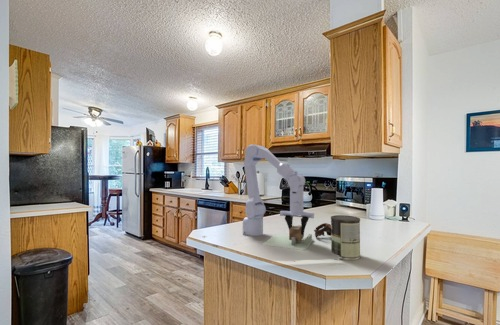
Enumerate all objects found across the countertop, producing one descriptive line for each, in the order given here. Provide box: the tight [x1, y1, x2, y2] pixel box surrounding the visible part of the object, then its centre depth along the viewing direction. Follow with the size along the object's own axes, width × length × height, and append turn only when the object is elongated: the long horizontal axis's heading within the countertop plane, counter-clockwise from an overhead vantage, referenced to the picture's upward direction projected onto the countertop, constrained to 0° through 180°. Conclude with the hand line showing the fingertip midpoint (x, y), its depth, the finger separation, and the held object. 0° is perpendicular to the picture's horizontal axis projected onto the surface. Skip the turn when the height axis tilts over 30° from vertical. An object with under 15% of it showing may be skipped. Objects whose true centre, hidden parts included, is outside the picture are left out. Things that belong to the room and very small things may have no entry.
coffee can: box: [330, 214, 361, 261], centre depth 92 cm, size 10×10×14 cm
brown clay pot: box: [313, 222, 331, 239], centre depth 116 cm, size 12×10×8 cm
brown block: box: [288, 224, 305, 241], centre depth 107 cm, size 4×8×5 cm, turn 156°
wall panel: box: [261, 233, 314, 251], centre depth 106 cm, size 18×18×4 cm
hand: (296, 233), depth 107 cm, fingers closed on brown block, 4 cm apart
